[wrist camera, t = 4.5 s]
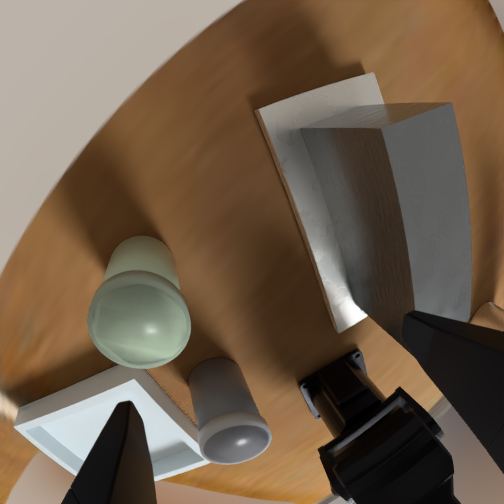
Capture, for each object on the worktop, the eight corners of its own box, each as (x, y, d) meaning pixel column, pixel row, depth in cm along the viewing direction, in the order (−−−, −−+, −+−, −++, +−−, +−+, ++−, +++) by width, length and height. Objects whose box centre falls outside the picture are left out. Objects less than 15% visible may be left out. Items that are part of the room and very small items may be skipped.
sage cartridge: (191, 281, 21) (208, 343, 15) (130, 312, 21) (125, 381, 14) (157, 218, 19) (157, 260, 13) (92, 254, 19) (67, 308, 12)
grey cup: (253, 383, 26) (281, 445, 19) (203, 406, 25) (220, 471, 19) (229, 346, 24) (256, 412, 17) (174, 372, 23) (186, 442, 17)
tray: (211, 440, 27) (216, 460, 25) (104, 476, 26) (104, 494, 23) (134, 356, 22) (134, 378, 20) (19, 407, 20) (13, 426, 18)
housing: (413, 276, 27) (484, 322, 19) (333, 327, 26) (395, 395, 18) (365, 73, 19) (461, 59, 11) (253, 110, 18) (324, 93, 10)
